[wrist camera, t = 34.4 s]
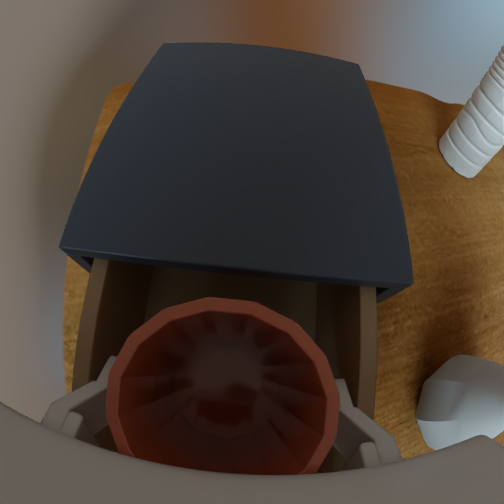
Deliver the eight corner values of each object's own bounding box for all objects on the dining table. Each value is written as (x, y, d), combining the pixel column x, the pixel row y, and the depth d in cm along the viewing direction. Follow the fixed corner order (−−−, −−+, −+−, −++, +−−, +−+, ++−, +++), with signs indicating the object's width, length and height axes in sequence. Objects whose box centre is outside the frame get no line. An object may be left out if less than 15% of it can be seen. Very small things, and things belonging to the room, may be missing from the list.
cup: (165, 432, 13) (104, 488, 5) (176, 328, 16) (121, 285, 8) (278, 444, 14) (325, 511, 5) (286, 339, 16) (343, 307, 8)
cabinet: (336, 323, 19) (414, 284, 10) (127, 302, 19) (57, 247, 10) (327, 144, 26) (359, 64, 17) (175, 128, 25) (162, 43, 16)
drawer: (309, 538, 12) (344, 596, 5) (118, 519, 11) (75, 570, 4) (332, 273, 20) (384, 219, 12) (141, 253, 19) (100, 190, 12)
